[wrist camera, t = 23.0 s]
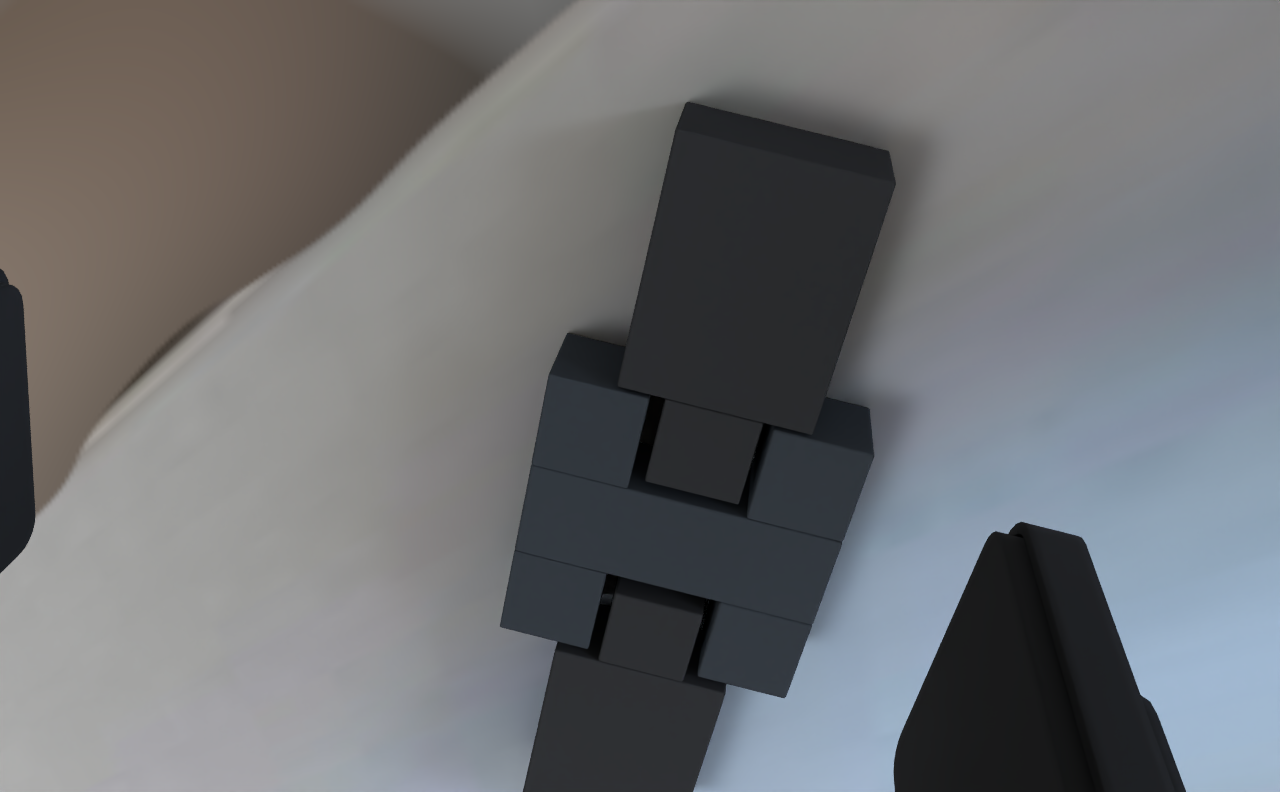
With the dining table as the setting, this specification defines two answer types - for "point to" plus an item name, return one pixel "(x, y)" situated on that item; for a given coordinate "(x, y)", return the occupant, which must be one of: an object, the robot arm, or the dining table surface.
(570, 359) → the pad
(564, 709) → the pad
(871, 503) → the dining table surface
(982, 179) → the dining table surface
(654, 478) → the pad
